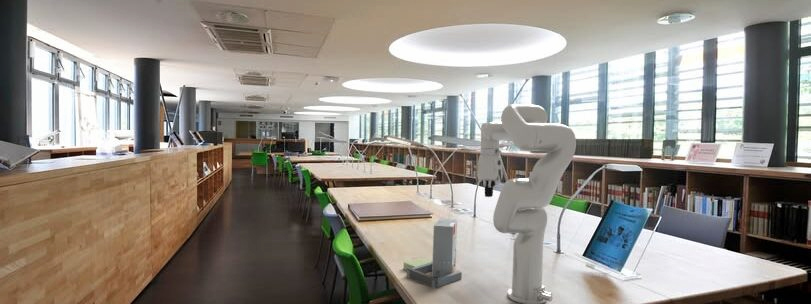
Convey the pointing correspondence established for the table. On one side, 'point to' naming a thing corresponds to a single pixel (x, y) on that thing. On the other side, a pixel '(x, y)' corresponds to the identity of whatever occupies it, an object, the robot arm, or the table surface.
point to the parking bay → (434, 282)
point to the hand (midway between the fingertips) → (488, 196)
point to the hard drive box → (444, 247)
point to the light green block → (416, 263)
